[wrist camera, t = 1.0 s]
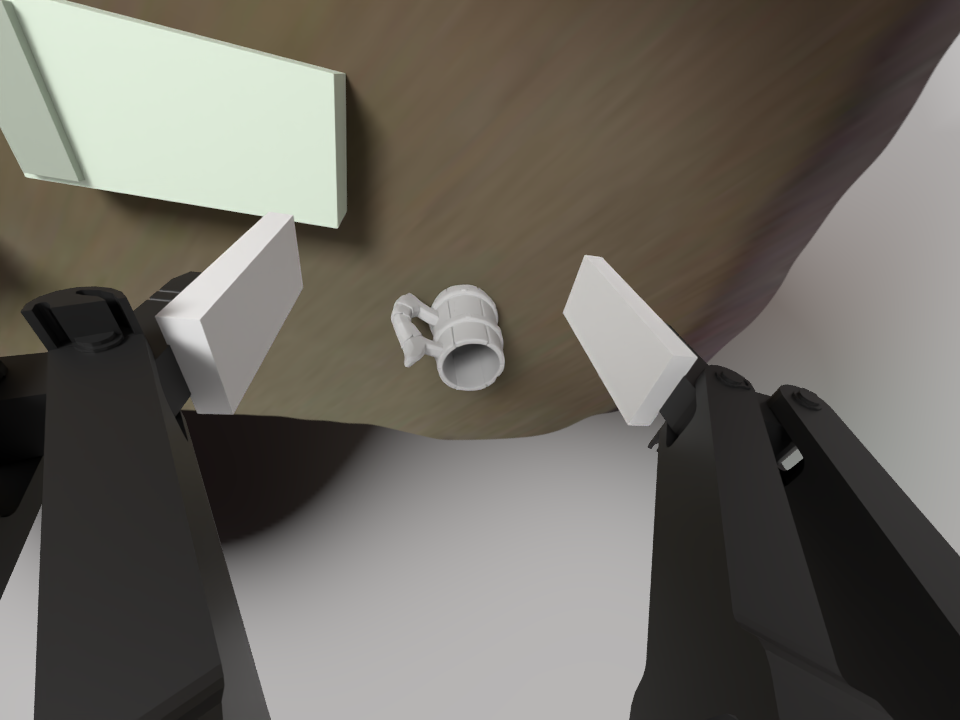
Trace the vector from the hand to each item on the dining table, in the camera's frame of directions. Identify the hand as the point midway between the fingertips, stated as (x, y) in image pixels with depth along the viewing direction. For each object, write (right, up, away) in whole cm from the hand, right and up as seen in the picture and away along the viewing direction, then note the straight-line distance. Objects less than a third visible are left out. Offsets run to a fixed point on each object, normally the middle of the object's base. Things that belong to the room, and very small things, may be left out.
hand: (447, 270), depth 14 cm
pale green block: (-19, +15, +13) cm, 28 cm away
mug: (-3, +3, +26) cm, 26 cm away
